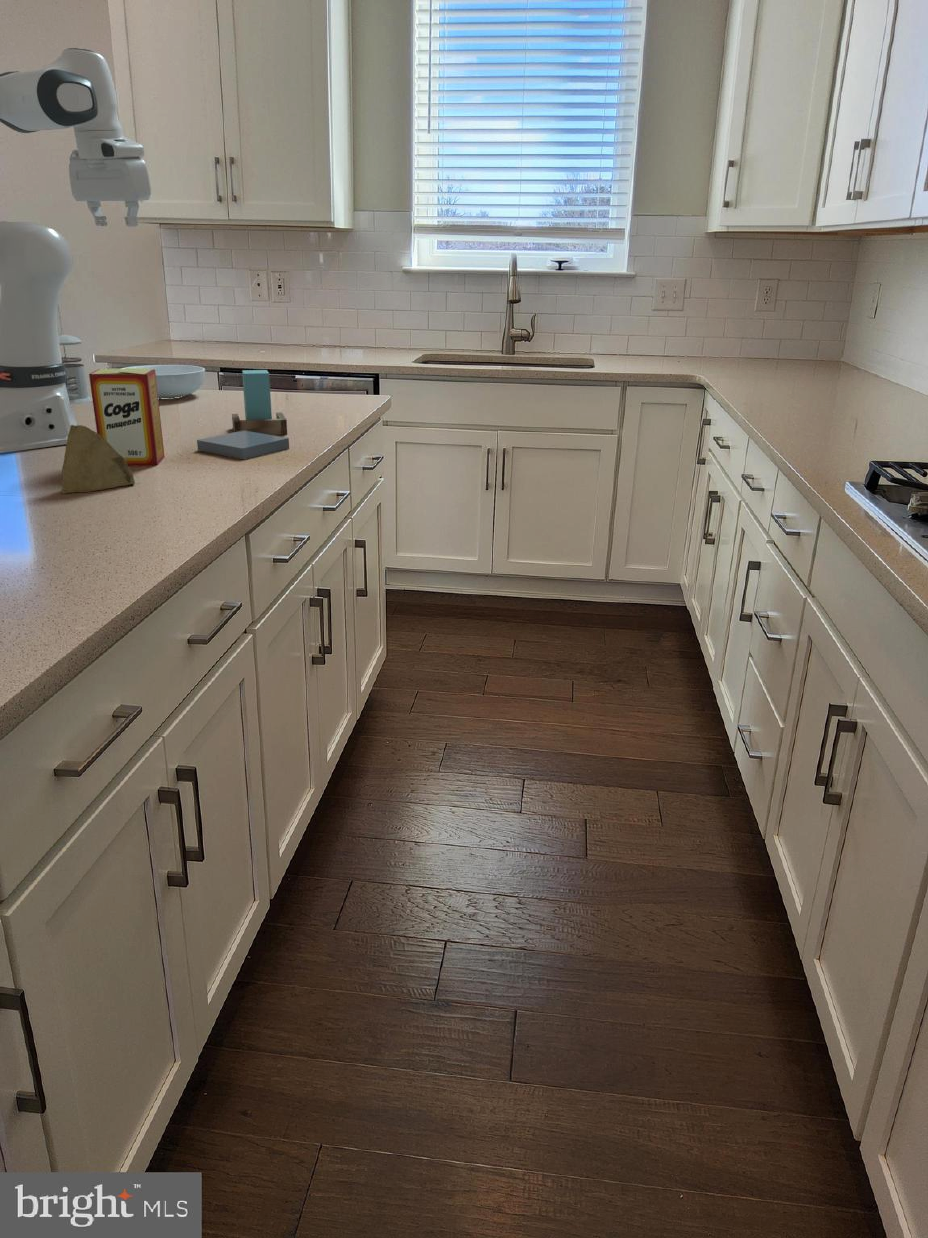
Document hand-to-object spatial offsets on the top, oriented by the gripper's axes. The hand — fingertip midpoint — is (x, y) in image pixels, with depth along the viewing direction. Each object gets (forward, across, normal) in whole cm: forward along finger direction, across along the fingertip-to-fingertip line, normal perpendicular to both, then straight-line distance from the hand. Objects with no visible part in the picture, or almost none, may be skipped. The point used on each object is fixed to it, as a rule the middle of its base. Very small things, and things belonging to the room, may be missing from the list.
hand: (116, 226), depth 181 cm
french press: (+40, -35, +3) cm, 53 cm away
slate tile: (+38, +38, -10) cm, 55 cm away
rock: (+35, +41, -44) cm, 69 cm away
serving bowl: (+41, -22, +21) cm, 51 cm away
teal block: (+40, +27, +5) cm, 48 cm away
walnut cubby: (+40, +27, +5) cm, 48 cm away
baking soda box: (+36, +30, -29) cm, 55 cm away
